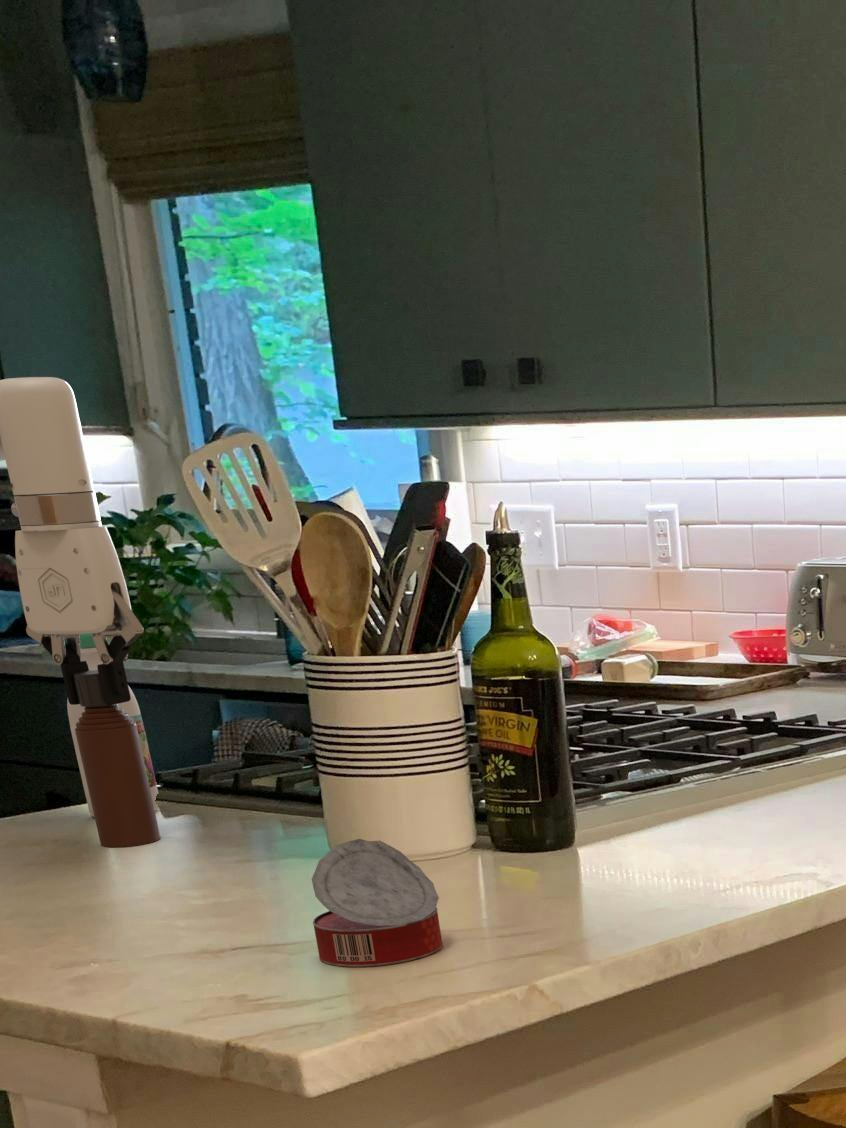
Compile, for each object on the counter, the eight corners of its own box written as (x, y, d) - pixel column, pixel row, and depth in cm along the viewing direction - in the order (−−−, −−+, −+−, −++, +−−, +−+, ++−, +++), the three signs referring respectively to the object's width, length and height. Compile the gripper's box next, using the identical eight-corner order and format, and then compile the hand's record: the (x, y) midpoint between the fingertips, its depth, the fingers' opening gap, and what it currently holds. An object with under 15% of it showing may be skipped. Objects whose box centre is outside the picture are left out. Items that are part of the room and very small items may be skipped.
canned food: (434, 988, 164) (476, 880, 161) (407, 1009, 154) (451, 894, 152) (306, 932, 162) (347, 822, 160) (271, 950, 153) (313, 833, 150)
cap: (77, 707, 198) (69, 675, 197) (84, 703, 202) (77, 671, 200) (116, 705, 199) (109, 673, 198) (123, 700, 202) (117, 668, 201)
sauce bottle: (89, 847, 204) (51, 680, 197) (120, 835, 209) (84, 673, 202) (141, 847, 203) (105, 679, 196) (171, 835, 208) (136, 671, 201)
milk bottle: (75, 819, 220) (33, 635, 211) (117, 806, 226) (78, 627, 218) (134, 819, 218) (94, 634, 210) (175, 806, 225) (137, 626, 216)
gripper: (-36, 518, 192) (9, 708, 200) (100, 513, 187) (142, 708, 195) (19, 513, 198) (61, 697, 206) (152, 508, 193) (190, 697, 201)
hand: (100, 700), depth 200 cm, fingers closed on cap, 3 cm apart
